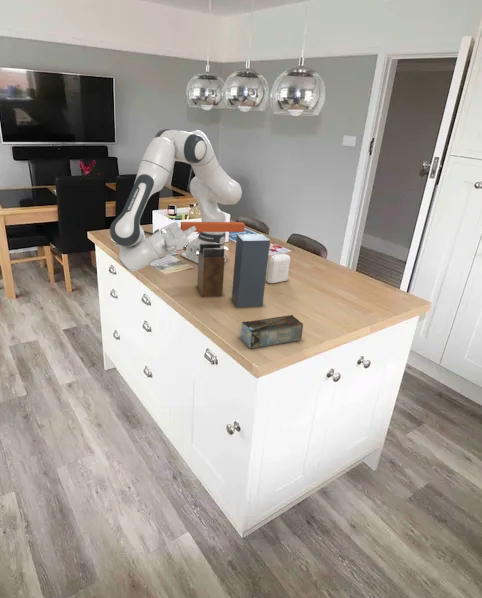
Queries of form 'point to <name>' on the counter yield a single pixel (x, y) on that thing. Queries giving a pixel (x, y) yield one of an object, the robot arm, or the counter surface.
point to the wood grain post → (210, 269)
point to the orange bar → (214, 226)
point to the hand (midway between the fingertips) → (194, 225)
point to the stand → (250, 270)
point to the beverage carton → (271, 331)
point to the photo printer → (278, 268)
